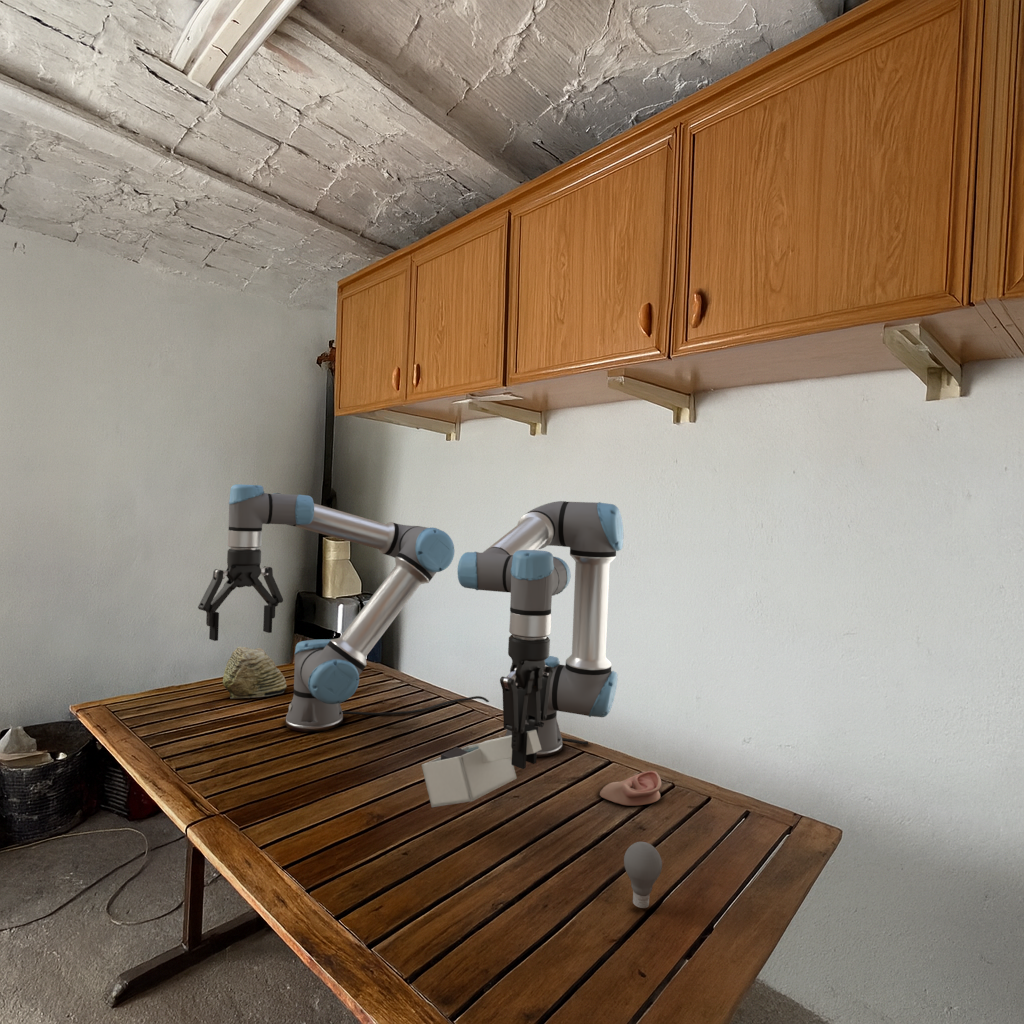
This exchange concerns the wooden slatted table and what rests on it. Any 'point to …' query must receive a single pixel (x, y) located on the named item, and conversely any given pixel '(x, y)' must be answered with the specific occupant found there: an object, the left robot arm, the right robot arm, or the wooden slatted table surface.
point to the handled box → (473, 771)
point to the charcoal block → (453, 753)
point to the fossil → (252, 674)
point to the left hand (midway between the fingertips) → (241, 635)
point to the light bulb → (642, 870)
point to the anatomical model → (634, 790)
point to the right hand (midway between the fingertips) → (523, 763)
